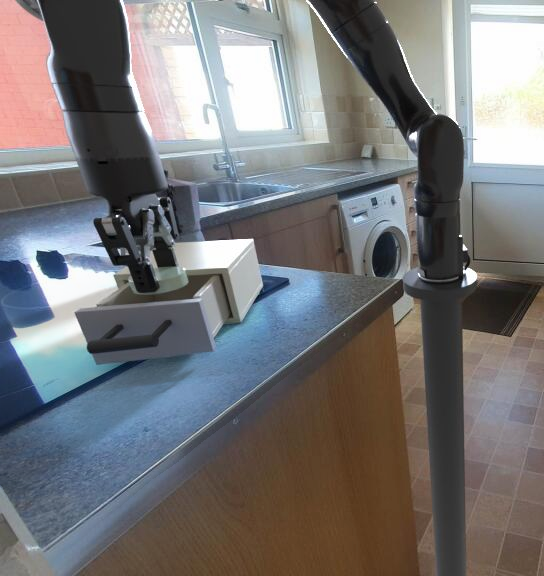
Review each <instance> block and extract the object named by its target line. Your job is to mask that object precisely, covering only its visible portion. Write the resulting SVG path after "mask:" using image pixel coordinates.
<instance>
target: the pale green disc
mask: <svg viewBox="0 0 544 576" xmlns="http://www.w3.org/2000/svg"><path fill="white" fill-rule="evenodd" d="M154 271H155V274H156V277H157V280H158V283H159V286H160V288H159V289H158V290H157V291H156V292H150V293H139V292H137V290H136V288H135V285H134V282H133V279H132V277H131V276H130V277H129V278H128V281H129V284H130V287H131V289H132V292H133V293H135V294H139V295H153V294H160V293H166V292H170V291H173V290H176V289H179V288H182V287H184V286H185V285H187V284H188V282H189V281H188V277H187V274H186V271H185V269H184V268H182V267H173V266H171V267H159V268H154Z"/></svg>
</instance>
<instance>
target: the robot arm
mask: <svg viewBox="0 0 544 576" xmlns="http://www.w3.org/2000/svg"><path fill="white" fill-rule="evenodd" d="M14 1H15V2H16V3H17V4H18V5H19V6H20V7H21V8H22V9H23V10H24V11H26V13H28V14H30V15H31V16H32V17H34V18H36V19H37V20H40V21H41V22H43V24H44V27H45V31H46V35H47V38H48V42H49V46H50V47H49V48H50V49H49V53H48V54H47V56H46V59H45V65H46V70H47V75H48V78H49V80H50V83H51V86H52V89H53V92H54V94H55V97H56V101H57V103H58V106H59V108H60V110H61V114H62V118H63V125H64V128H65V133H66V137H67V139H68V142H69V144H70V147H71V150H72V153H73V155H74V159H75V161H76V164H77V167H78V170H79V172H80V175H81V177H82V180H83V182H84V185H85V188H86V192H88V194H89V195H91V196H94V197H101V198H104V199H105V200H106V205H107V214H108V215H107V216H104V217H94V218H93V220H92V222H93V226H94V228H95V230H96V233H97V234H98V236H99V239H100V241H101V244H102V245H103V247H104V249H105V251H106V253H107V256H108V258H109V260H110V262H111V264H112V265H113V266H114V267H122V266H123V267H126V266H128V268H129V271H130V274H131V277H132V279H133V282H134V285H135V288H136V290H137V292H139V293H150V292H156V291H157V290H158V289H159V288H160V286H159V283H158V280H157V277H156V274H155V271H154V268H153V265H152V263H150V262H151V259H150V251H152V252H153V255H154V258H155V261H156V264H157V267H158V268H159V267H171V266H173V267H179V265H178V262H177V259H176V255H175V252H174V249H173V248H172V247H175V241H174V240H175V239H179V234H178V230H177V225H176V221H175V216H174V212H173V207H172V203H171V199H170V198H169V197H157V196H156V193H161V192H164V191H166V190H167V188H168V184H167V181H166V177H165V174H164V170H165V169H164V167H163V164H162V160H161V157H160V153H159V150H158V146H157V144H156V143H157V142H156V140H155V136H154V132H153V130H152V128H151V126H150V124H149V122H148V119H147V117H146V114H145V113H144V112H145V111H144V107H143V104H142V101H141V98H140V93H139V91H138V86H137V84H136V81H135V79H134V75H133V72H132V63H131V62H132V61H131V60H132V51H131V42H130V41H131V40H130V30H129V29H130V28H129V22H128V15H127V9H126V6H125V3H124V2H125V1H124V0H14ZM306 2H307V3H308V4H309V5H310V7H311V8H312V9H313V11H314V12H315V13H316V15H317V16H318V18H319V19H320V21H321V22H322V24H323V25H324V27H325V28H326V30H327V32H328V33H329V34H330V35H331V37H332V39H333V40H334V42H335V43H336V44H337V46H338V47H339V48H340V50H341V52H343V54H344V56H345V57H346V58H347V59H348V61H349V62H350V64H351V65H352V66H353V67H354V69H355V71H357V73H358V75H359V76H360V77H361V78H362V79H363V81H364V82H365V84H367V86H368V87H369V88H370V89H371V91H372V92H373V93H374V95H376V97H377V98H378V99H379V100H380V102H381V103H382V104H383V106H384V107H385V109H386V111H388V113H389V115H390V117H391V118H392V120H393V122H394V123H395V126H396V127H397V128H398V130H399V132H400V134H401V137H402V138H403V139H404V142H405V143H406V144H407V146H408V148H409V150H410V151H411V152H412V154H413V155H414V156H415V157H416V158H417V160H416V161H417V178H416V179H417V180H416V181H415V184H414V185H413V196H414V197H413V198H414V215H415V216H414V217H415V229H416V230H415V231H416V248H417V264H418V265H417V267H416V268H417V271H418V275H419V279H420V280H421V281H423V282H426V283H430V284H447V283H452V282H455V281H458V280H463V279H464V277H463V270H465V271H466V270H467V268H469V266H470V265H471V256H470V255H469V250H468V248H467V247H466V246H465V245H464V237H463V236H462V234H461V233H462V231H461V230H462V229H461V190H462V188H463V184H464V169H465V168H464V167H465V142H464V141H465V140H464V135H463V132H462V131H463V130H462V129H461V127H460V125H459V124H458V122H457V121H456V120H455V119H454V118H452V117H451V116H449V115H446V114H442V113H437V112H436V111H435V110H434V109H433V107H432V106H431V105H430V103H429V102H428V101H427V99H426V98H425V96H424V94H423V93H422V92H421V91H420V89H419V87H418V85H417V84H416V83H415V80H414V78H413V75H412V74H411V71H410V68H409V65H408V63H407V59H406V57H405V54H404V51H403V49H402V47H401V44H400V41H399V39H398V37H397V35H396V33H395V31H394V29H393V27H392V26H391V24H390V22H389V20H388V19H387V17H386V15H385V14H384V12H383V10H382V9H381V8H380V6H379V4H378V3H377V0H306ZM155 248H156V249H155ZM151 249H152V250H151ZM153 249H154V250H153ZM464 264H465V265H464ZM463 267H464V269H463Z"/></svg>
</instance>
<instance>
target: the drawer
mask: <svg viewBox="0 0 544 576" xmlns="http://www.w3.org/2000/svg"><path fill="white" fill-rule="evenodd" d="M187 277H188V281H189V282H188V284H187V285H185V286H184V287H182V288H179V289H176V290H173V291H170V292H166V293H160V294H153V295H139V294H135V293H133V292H132V289H131V287H130V284H129V282H128V283H126V284H125V285H123V286H122V287H120V288H119V289H118V288H117V289H116V290H115V291H113V292H112V293H110V294H109V295H108V296H106V297H105V298H103V299H102V300H101V301H99V302H98V303H96V304H95V306H93V307H81V308H78V309H77V310H75V311H74V312H73V313H74V315H75V318H76V321H77V322H78V325H79V327H80V329H81V332H82V334H83V337H84V339H85V342H86V351H87V353H88V354H90V355H92V358H93V361H94V363H95V365H96V366H101V365H111V364H118V363H119V364H120V363H126V362H134V361H143V360H144V361H145V360H153V359H160V358H169V357H178V356H186V355H196V354H205V353H211V352H213V353H214V351H215V350H216V348H217V346H216V341H215V337H216V336H217V334H218V333H219V331H220V330H221V328H222V326H223V325H225V324H224V322H225V321H226V319H227V318H228V317H229V315H230V314H231V312H232V311H231V307H230V303H229V299H228V295H227V291H226V287H225V283H224V279H223V276H222V273H221V274H206V275H192V276H187Z"/></svg>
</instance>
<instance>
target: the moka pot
mask: <svg viewBox="0 0 544 576" xmlns="http://www.w3.org/2000/svg"><path fill="white" fill-rule="evenodd" d="M163 170H164V174H165V177H166V181H167V184H168V188H167V190H166V191H164V192H161V193H156V196H157V197H169V198H170V199H171V203H172V207H173V212H174V216H175V221H176V225H177V230H178V234H179V239H175V240H174V241H175V243H182V242H203V241H206V239H205V236H204V235H203V232H202V231H201V223H200V221H201V219H202V217H201V210H200V209H201V206H200V197H199V188H198V184H197V183H196V182H191V181H186V180H180V179H174V178H169V170H166V169H163Z"/></svg>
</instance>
